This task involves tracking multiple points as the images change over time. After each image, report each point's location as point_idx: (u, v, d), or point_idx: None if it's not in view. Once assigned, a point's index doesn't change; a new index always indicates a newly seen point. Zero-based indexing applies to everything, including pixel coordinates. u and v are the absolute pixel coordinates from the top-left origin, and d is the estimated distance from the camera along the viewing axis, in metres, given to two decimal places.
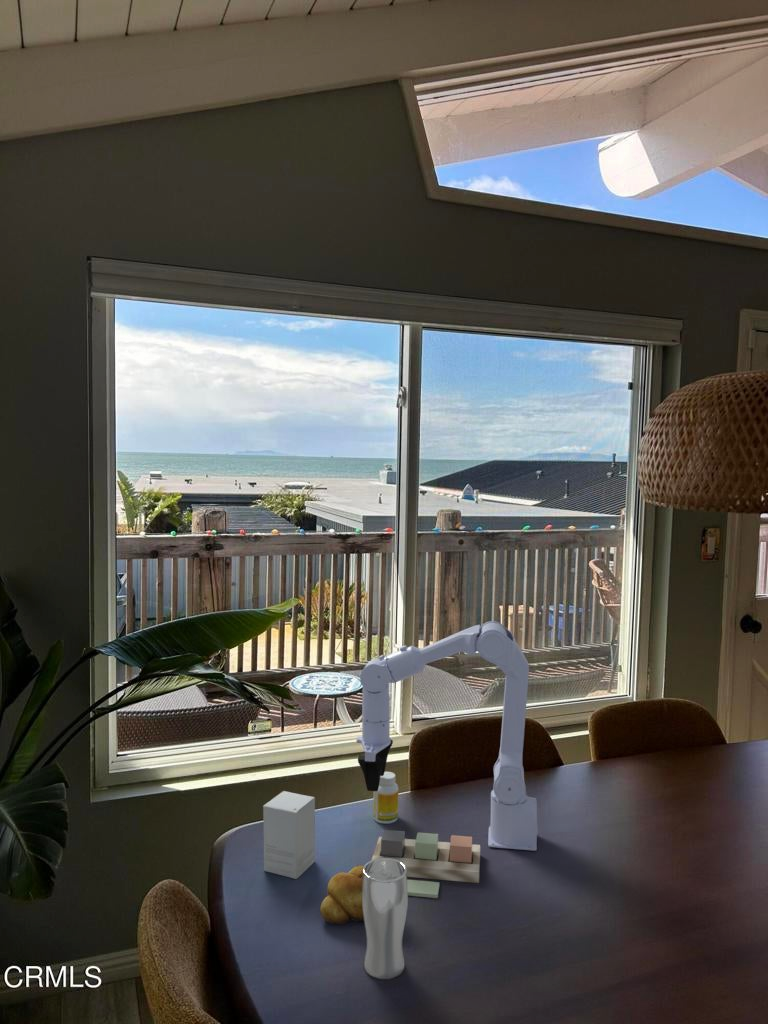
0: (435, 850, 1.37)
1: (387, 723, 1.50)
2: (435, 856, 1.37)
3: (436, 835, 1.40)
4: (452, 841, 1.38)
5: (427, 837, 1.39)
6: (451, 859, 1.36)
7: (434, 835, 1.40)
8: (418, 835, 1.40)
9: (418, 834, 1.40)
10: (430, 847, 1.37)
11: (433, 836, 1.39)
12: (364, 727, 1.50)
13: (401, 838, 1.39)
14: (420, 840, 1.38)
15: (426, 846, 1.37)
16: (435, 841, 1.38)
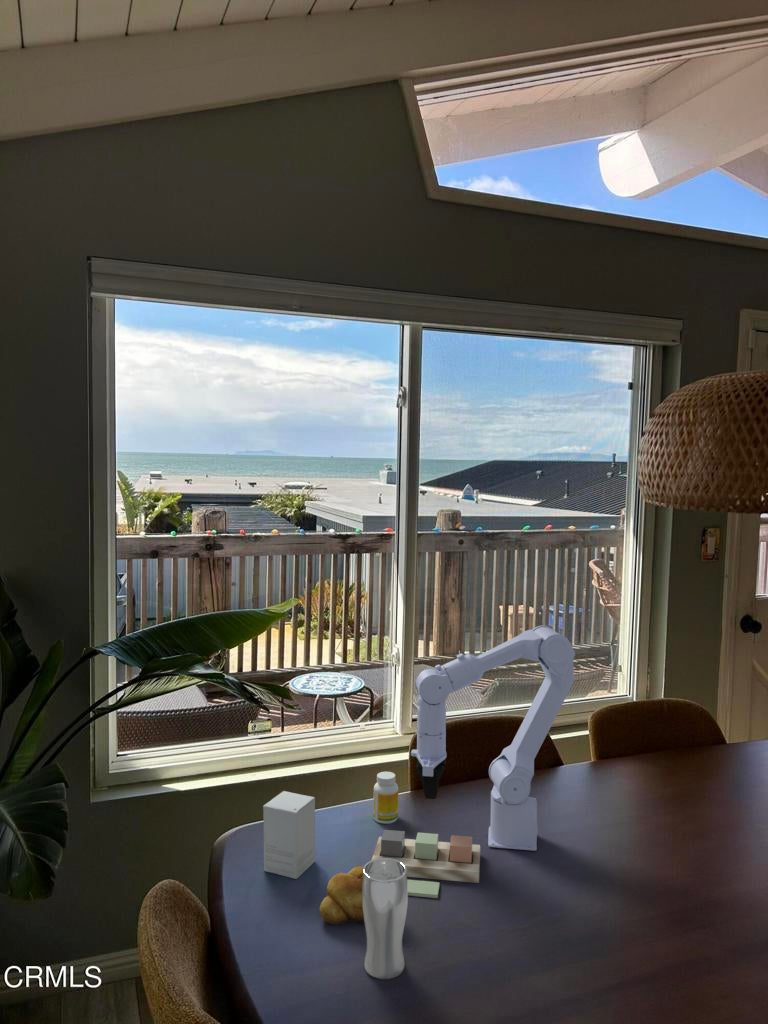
0: (435, 850, 1.37)
1: (444, 736, 1.44)
2: (435, 856, 1.37)
3: (436, 835, 1.40)
4: (452, 841, 1.38)
5: (427, 837, 1.39)
6: (451, 859, 1.36)
7: (434, 835, 1.40)
8: (418, 835, 1.40)
9: (418, 834, 1.40)
10: (430, 847, 1.37)
11: (433, 836, 1.39)
12: (420, 740, 1.44)
13: (401, 838, 1.39)
14: (420, 840, 1.38)
15: (426, 846, 1.37)
16: (435, 841, 1.38)
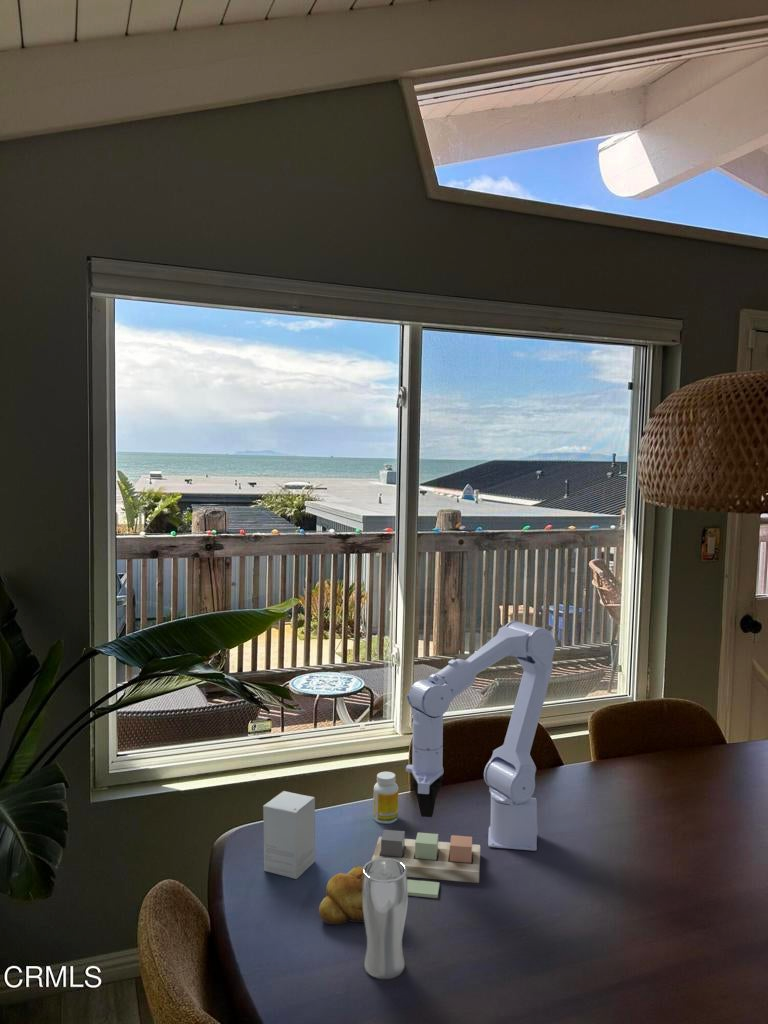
0: (435, 850, 1.37)
1: (440, 750, 1.36)
2: (435, 856, 1.37)
3: (436, 835, 1.40)
4: (452, 841, 1.38)
5: (427, 837, 1.39)
6: (451, 859, 1.36)
7: (434, 835, 1.40)
8: (418, 835, 1.40)
9: (418, 834, 1.40)
10: (430, 847, 1.37)
11: (433, 836, 1.39)
12: (415, 755, 1.36)
13: (401, 838, 1.39)
14: (420, 840, 1.38)
15: (426, 846, 1.37)
16: (435, 841, 1.38)
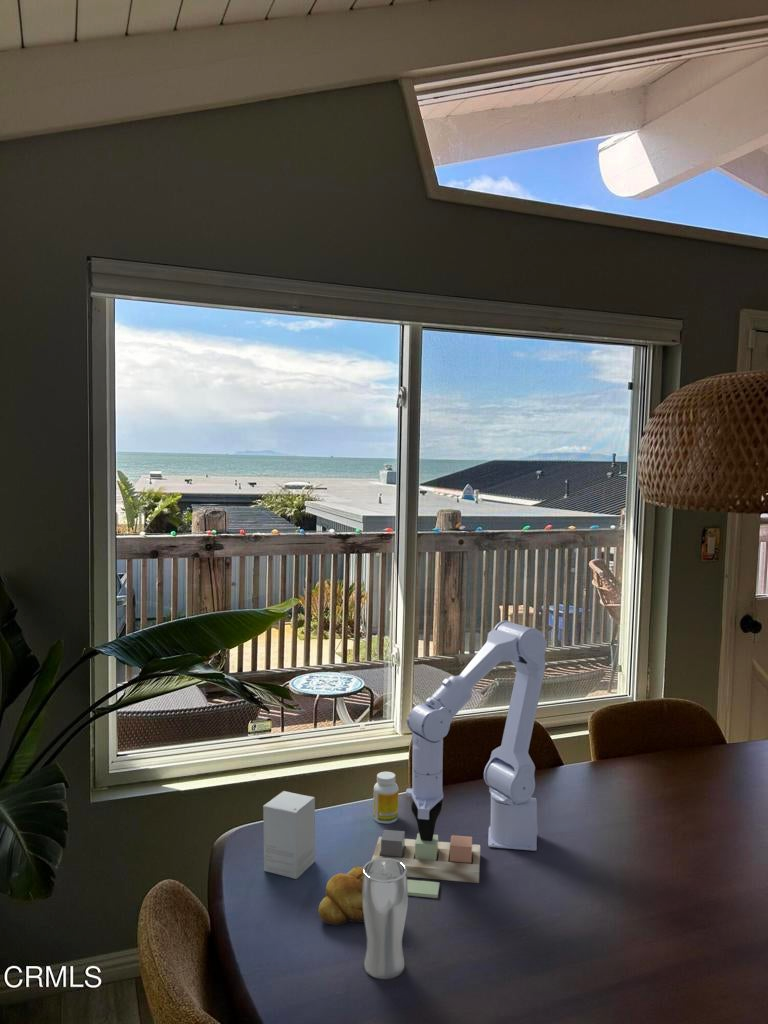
0: (435, 851, 1.37)
1: (440, 775, 1.37)
2: (435, 857, 1.37)
3: (436, 836, 1.40)
4: (452, 841, 1.38)
5: None
6: (451, 859, 1.36)
7: (434, 836, 1.40)
8: (418, 836, 1.40)
9: (418, 835, 1.40)
10: (430, 848, 1.37)
11: (433, 837, 1.39)
12: (415, 779, 1.37)
13: (401, 838, 1.39)
14: (420, 841, 1.38)
15: (426, 847, 1.37)
16: (435, 842, 1.38)
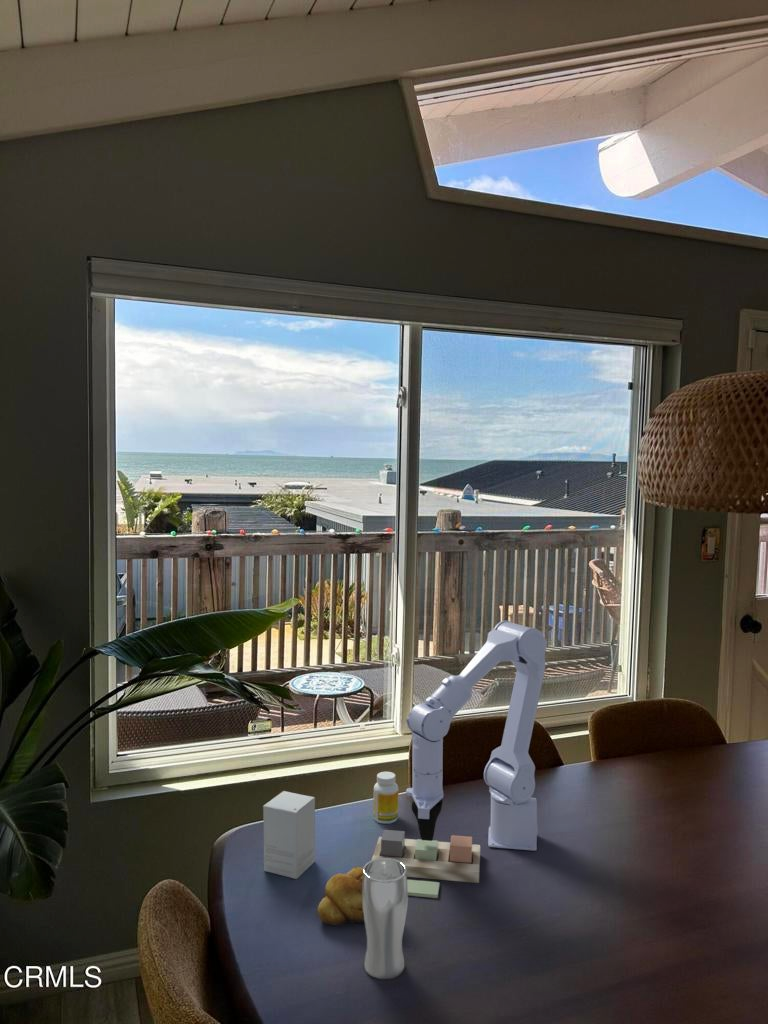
0: (435, 857, 1.37)
1: (440, 774, 1.37)
2: None
3: (436, 842, 1.40)
4: (452, 841, 1.38)
5: (427, 843, 1.39)
6: (451, 859, 1.36)
7: (434, 842, 1.40)
8: (418, 842, 1.40)
9: (418, 841, 1.40)
10: (430, 854, 1.37)
11: (433, 843, 1.39)
12: (415, 779, 1.37)
13: (401, 838, 1.39)
14: (420, 847, 1.38)
15: (426, 853, 1.37)
16: (435, 848, 1.38)
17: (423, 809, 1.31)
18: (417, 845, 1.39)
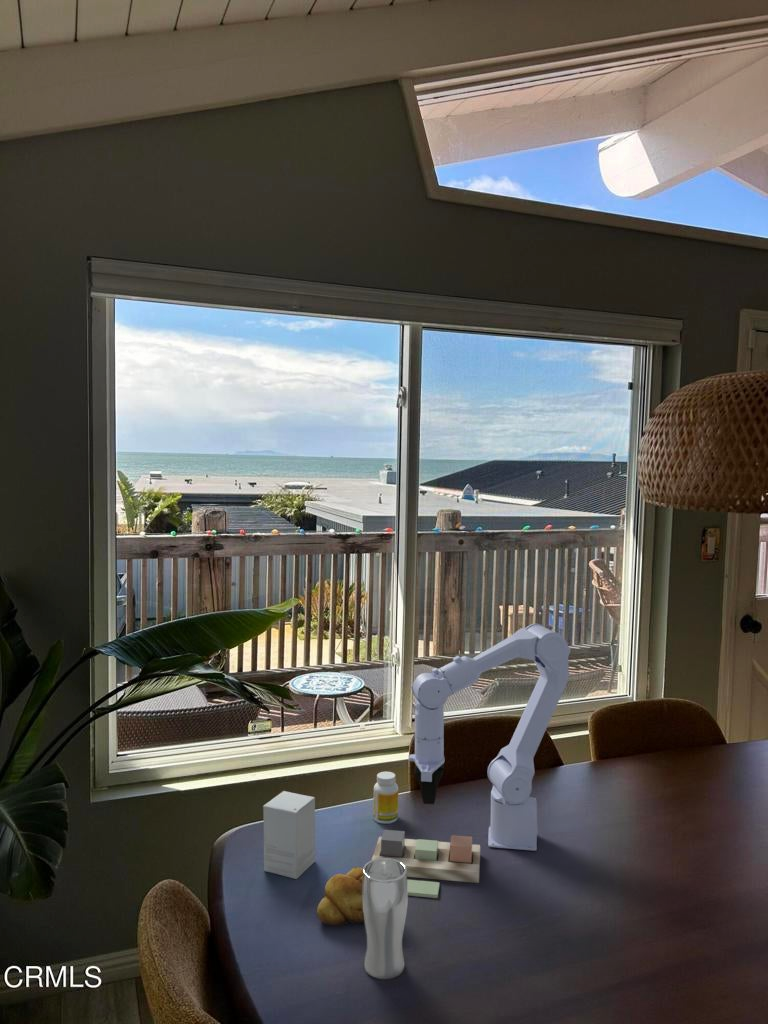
0: (435, 857, 1.37)
1: (442, 740, 1.43)
2: None
3: (436, 842, 1.40)
4: (452, 841, 1.38)
5: (427, 843, 1.39)
6: (451, 859, 1.36)
7: (434, 842, 1.40)
8: (418, 842, 1.40)
9: (418, 841, 1.40)
10: (430, 854, 1.37)
11: (433, 843, 1.39)
12: (418, 745, 1.43)
13: (401, 838, 1.39)
14: (420, 847, 1.38)
15: (426, 853, 1.37)
16: (435, 848, 1.38)
17: (426, 772, 1.37)
18: (417, 845, 1.39)
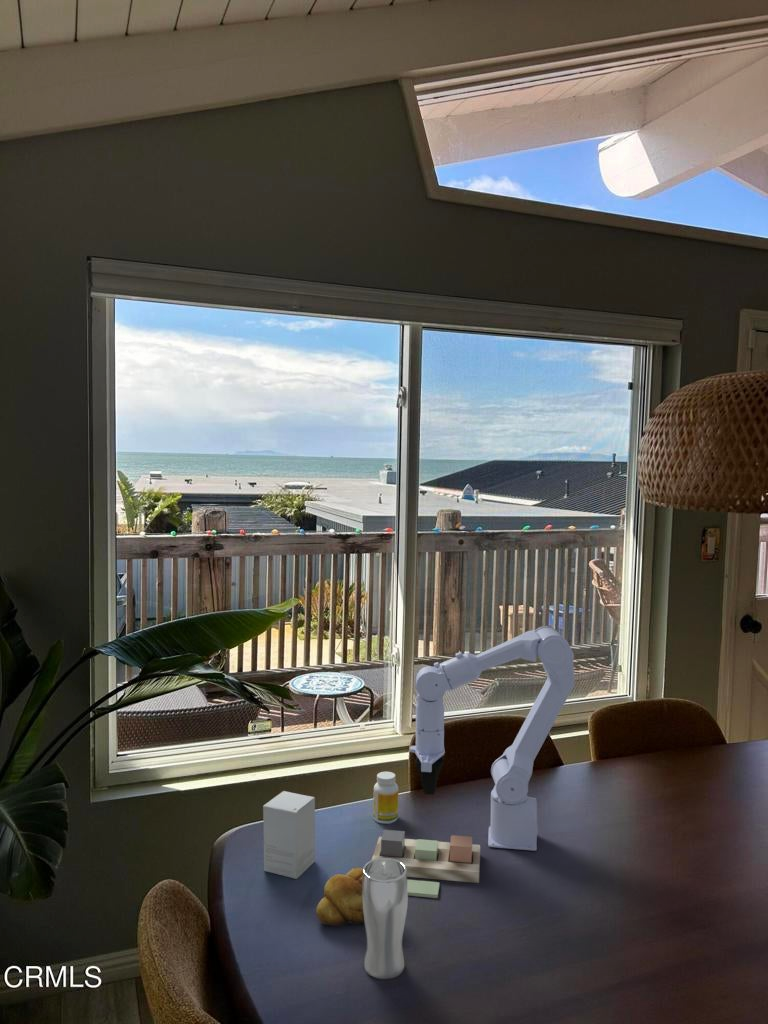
0: (435, 857, 1.37)
1: (442, 732, 1.46)
2: None
3: (436, 842, 1.40)
4: (452, 841, 1.38)
5: (427, 843, 1.39)
6: (451, 859, 1.36)
7: (434, 842, 1.40)
8: (418, 842, 1.40)
9: (418, 841, 1.40)
10: (430, 854, 1.37)
11: (433, 843, 1.39)
12: (418, 736, 1.46)
13: (401, 838, 1.39)
14: (420, 847, 1.38)
15: (426, 853, 1.37)
16: (435, 848, 1.38)
17: (426, 763, 1.41)
18: (417, 845, 1.39)
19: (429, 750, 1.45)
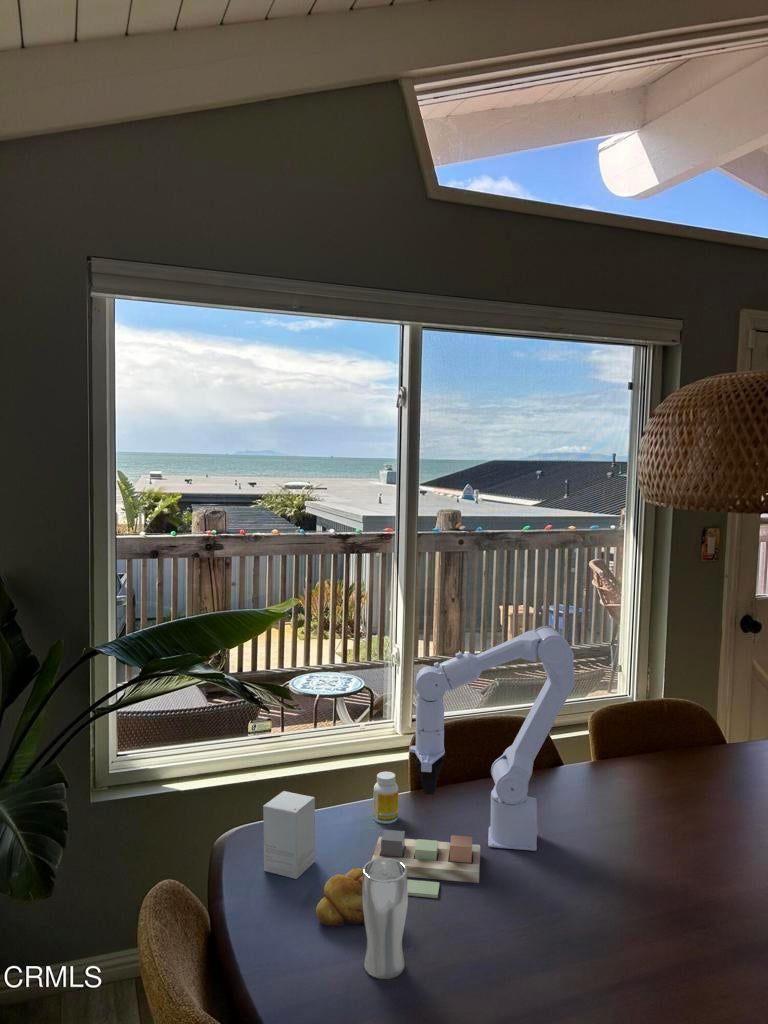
0: (435, 857, 1.37)
1: (442, 732, 1.46)
2: None
3: (436, 842, 1.40)
4: (452, 841, 1.38)
5: (427, 843, 1.39)
6: (451, 859, 1.36)
7: (434, 842, 1.40)
8: (418, 842, 1.40)
9: (418, 841, 1.40)
10: (430, 854, 1.37)
11: (433, 843, 1.39)
12: (418, 736, 1.46)
13: (401, 838, 1.39)
14: (420, 847, 1.38)
15: (426, 853, 1.37)
16: (435, 848, 1.38)
17: (426, 763, 1.41)
18: (417, 845, 1.39)
19: (429, 750, 1.45)
